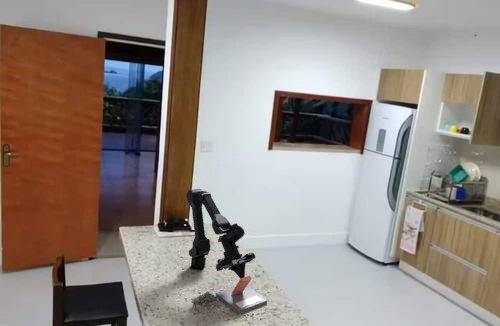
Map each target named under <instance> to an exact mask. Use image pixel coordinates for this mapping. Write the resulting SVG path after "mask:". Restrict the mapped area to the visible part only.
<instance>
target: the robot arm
mask: <svg viewBox="0 0 500 326" xmlns="http://www.w3.org/2000/svg"><path fill="white" fill-rule="evenodd" d="M186 199H187V203H188V205H189V206H190V208H191V212H192V213H191V214H192V223H193V229H194V230H193V231H194V238H193V241H192V247H191V248H190V249H189V250H188V256H190V257H191V261H190V266H189V268H190V269H191V270H192V269H193V270H200V271H204V268H205V267H206V264H207V263H206V261H207V257H206V256H209V254H210V251H211V247H212V246H211V239H210V238H207V236H206V231H205V222H204V216H203V206H204V208H205V210H206V212H207V214H208V215H209V217H210V220H211V227H212V230H213V232H214V234H215V235H218V236H219V237H218V240H217V243H221V245H222V246H221V247H223V250H224V251H223V257H222V258H218V259H217V261H216V262H217V263H216V264H215V269H216V272H220V271H223V270H226V269H228V271H229V270H230V271H233V272H234V273H235V274H236V275H237V276H238V278H239V280H240V279H241V278H244V277H246V276H245V275H246V264H248V263H250V262H252V261H253V260H255V259H256V254H255V253H254V252H249V253H248V252H247V254H245V255H243V253H240V251H239V248H240V247H239V245H237V244H236V243H237V242H238V241H239V240H241V239H243V237H244V235H245V229H244V228H243V227H242V226H241V225H239V224H238V223H233V224H231V223H230V221H229V220H228V219H227V217H226V216H223V214H222V213H221V212H220V210H219V208H218V207H217V205H216V203H215V201H214V199H213V198H212V194H211V192H209V191H207V190H202V189H201V188H195V189H188V191H187V192H186Z"/></svg>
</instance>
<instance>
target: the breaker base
mask: <svg viewBox="0 0 500 326" xmlns="http://www.w3.org/2000/svg"><path fill="white" fill-rule="evenodd" d="M235 287H236V286H233V287H230V288H226V289H224V290H220V291H218V292H215V296H216V298H217V299H218V298H219V300H220V301H221V302H222V303H223V304H225V305H226V306H228V307H229V308H230V310H231V309H232V310H233V311H234V312H235V313H236V314H238V315H240V314H244V313H245V312H248V311H251V310H254V309H256V308H258V307H261V306H264V305H266V304H267V303H268V299H267V298H265V297H264V296H263V295H261V294H259V293H258V292H257V291H255V290H254V289H252V288H250V287H249V286H248V285H247V286H246V288H245V289H244V291H243V292H242V293H239V294H236V295H232V294H231V293H232V292H233V290H234V288H235Z"/></svg>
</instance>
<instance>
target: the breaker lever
mask: <svg viewBox="0 0 500 326" xmlns="http://www.w3.org/2000/svg"><path fill="white" fill-rule="evenodd" d="M251 280H252V277H251V275H247V276H245V277H244V278H241V279H240V278H239V280H238V282H237V284H236V285H235V286H234V287H235V288H234V290H233V292H232V293H231V294H232V295H236V294H239V293H242V292H243V291H244V289H245V288H246V286H248V285H249V284H250V282H251Z"/></svg>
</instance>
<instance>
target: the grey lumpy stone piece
mask: <svg viewBox="0 0 500 326" xmlns="http://www.w3.org/2000/svg"><path fill="white" fill-rule="evenodd" d="M219 300H220V299H219V298H218V297H216V295H214V294H212V293H210V291H206V292H204V293H202V294H200V295H198V296H197V297H194V298H192V299H191V302H190V303H191V304H192V309H193V310H198V313H201V314H202V313H203V314H205V313H206V312H207V310H211V309H212V307H217V304H218V303H217V302H219ZM200 303H204V304H203V305H200Z"/></svg>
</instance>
